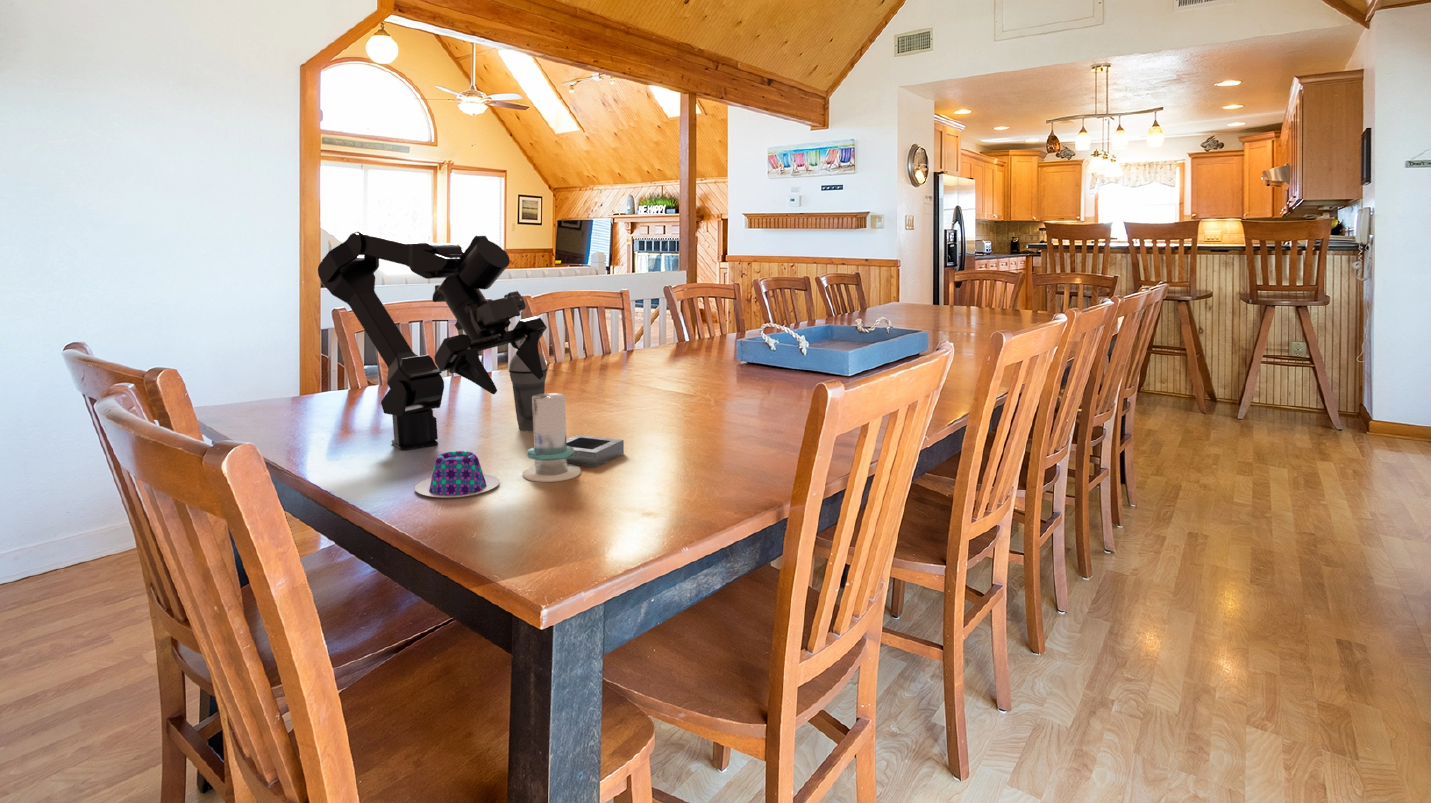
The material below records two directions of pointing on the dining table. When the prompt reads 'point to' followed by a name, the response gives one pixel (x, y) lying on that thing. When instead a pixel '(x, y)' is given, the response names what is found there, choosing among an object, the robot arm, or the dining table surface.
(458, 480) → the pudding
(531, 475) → the coaster
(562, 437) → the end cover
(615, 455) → the box
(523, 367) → the beverage cup
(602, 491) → the dining table surface
